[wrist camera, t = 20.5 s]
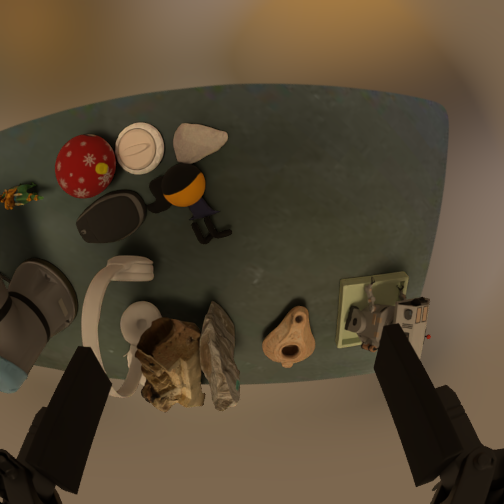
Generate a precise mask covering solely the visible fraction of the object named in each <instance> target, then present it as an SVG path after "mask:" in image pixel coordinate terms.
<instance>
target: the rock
mask: <svg viewBox="0 0 504 504" xmlns="http://www.w3.org/2000/svg"><path fill="white" fill-rule="evenodd" d="M234 347H235V331H234V324H233V323H232V320H231V319H230V317H229V316H228V314H227V313H226V312H225V310H224V309H223V308H222V307H221V306H220V305H218V304H217V303H215V302H214V301H211V304H210V307H209V310H208V313H207V314H206V316H205V319H204V323H203V328H202V333H201V337H200V363H201V369H202V371H203V373H204V374H205V377H206V378H207V379H208V381H209V383H210V388H211V394H212V400H213V403H214V405H215V408H216V409H217V410H219V411H224V410H225V409H227V407H230V406H236V405H237V402H238V401H239V396H240V384H239V374H240V371H239V370H238V369H237V366H236V364H235V362H234V359H233V358H234V356H233V355H234Z"/></svg>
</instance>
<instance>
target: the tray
mask: <svg viewBox="0 0 504 504" xmlns="http://www.w3.org/2000/svg"><path fill="white" fill-rule="evenodd" d="M371 277H373V278H372V279H374V280H375V283H373V285H372V294H373V296H374V297H375V301H374V302H373V303H374V304H381V305H390V306H395V302H397V301H401V300H400V299H399V295H400V292H399V291H400V290H399V289H398V288H397V287H396V286H397V285H398V287H399V288H400V289H401V288H402V286H404V288H403V289H402V292H403V294H405V295H406V290H407V284H408V279H409V277H408V275H407V274H406V273H405V272H404V271H402V272H395V273H387V274H380V275H372V276H364V277H356V278H348V279H340V292H339V306H338V318H337V329H336V340H335V342H336V345H337V348H343V347H350V346H356V345H361V344H362V342H361V340H360V339H359V337H358V335H357V333H354V332H350V331H348V330H345V329H344V328H345V324H346V319H347V318H348V312H349V311H350V310H349V308H350V307H351V305H352V306H357V307H358V308H359V310H360V311H361V310H363V309H364V308H365V307H366V306H367V305H369V304H370V303H368V301H367V300H368V299H369V298H368V297H367V293H366V292H365V286H368V285H369V284H371ZM374 280H373V282H374ZM401 285H402V286H401Z"/></svg>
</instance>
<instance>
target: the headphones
mask: <svg viewBox="0 0 504 504" xmlns="http://www.w3.org/2000/svg"><path fill="white" fill-rule="evenodd" d="M107 262H108V264H107V266H106V267H104V268H103V269H101V270H100V271H99V272H98V273H97V274H96V275H95V277H94V278H93V280H92V281H91V283H90V285H89V287H88V290H87V292H86V296H85V299H84V304H83V310H82V341H83V346H84V347H91V348H92V350H93V352H94V354H95V356H96V357H97V359H98V361H99V363H100V365H101V366H102V368H103V370H104V367H103V364H102V360H101V355H100V350H99V343H98V323H99V320H100V312H101V306H102V301H103V297H104V294H105V291H106V288H107V286H108V284H109V282H110V281H111V280H113V281H150V280H152V279H153V278H154V274H153V266H152V265H151V264H153V262H152V261H151V260H149V259H148V258H146V257H141V256H115V257H113V258H111V259H109V260H108V261H107ZM161 317H162V316H161V314H160V312H159V310H158V309H157V307H156V306H155V305H153V304H152V303H149V302H146V301H139V302H135V303H133V304H131V305H130V306H129V307H128V308H127V309H126V310H125V311H124V313H123V315H122V317H121V322H120V327H121V332H122V334H123V337H124V338H125V340H126V341H127V342H129V343H130V344H131V345H130V352H131V354H132V359H131V363H130V368H129V371H128V374H127V377H126V379H125V382H124V384H123V385H122V387H121V388H120V389H119V390H118V391H115V390H114V388H113V387H111V390H110V392H109V395H110V396H114V397H120V398H127V397H130V396H131V395H133V393H134V392H135V391H136V389H137V387H138V385H139V382H140V380H141V376H142V370H141V365H142V364H141V363H140V361H139V360H138V359H137V358H135V352H136V351H137V344H138V342H139V340H140V337H141V335H142V334H143V333H144V332H145V331H146V330H147V329H148V328H149V327H151V325H152V321H154V320H156V319H158V318H161ZM104 372H105V370H104Z"/></svg>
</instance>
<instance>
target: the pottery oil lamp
mask: <svg viewBox="0 0 504 504" xmlns="http://www.w3.org/2000/svg"><path fill="white" fill-rule="evenodd" d="M262 346H263V351H264V353H265V355H266V356H268V357H269V359H271V360H273V361H276V362H281V364H282V366H283V367H286V368H289V367H291V366H292V365H293V363H296V362H300V361H301V360H304V359H306V358H307V357H308V356H310V355H311V354H312V353H313V351H314V349H315V340H314V337H313V335H312V333H311V329H310V324H309V316H308V310H307V309H306V308H305V307H303V306H296V307H294V308H292V309H291V310H290V311H289V312H288V313H287V315H286V316H285V318H284V319H283V320H282V322H281V323H280V324H279V325H278V326H277V327H276V328H275V329H274V330H273V331H272V332H271V333H270V334H268V335H267V336H266V337H265V339H264V341H263V345H262Z"/></svg>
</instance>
